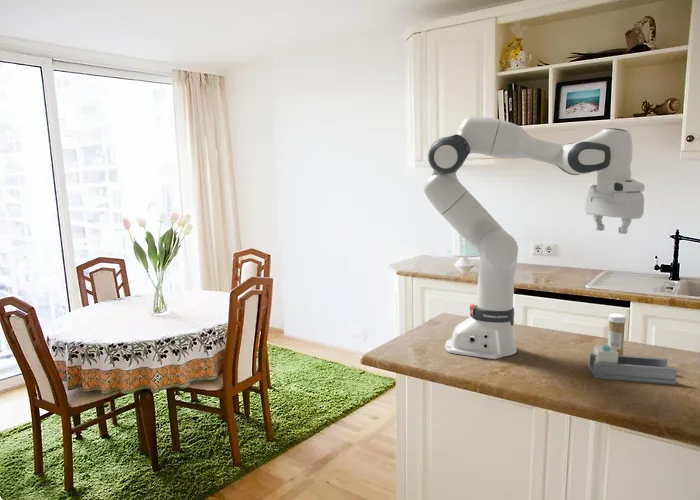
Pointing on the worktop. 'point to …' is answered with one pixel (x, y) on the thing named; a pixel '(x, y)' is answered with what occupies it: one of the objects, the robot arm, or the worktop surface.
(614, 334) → the sprinkles bottle
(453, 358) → the worktop surface
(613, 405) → the worktop surface
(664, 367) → the rail
